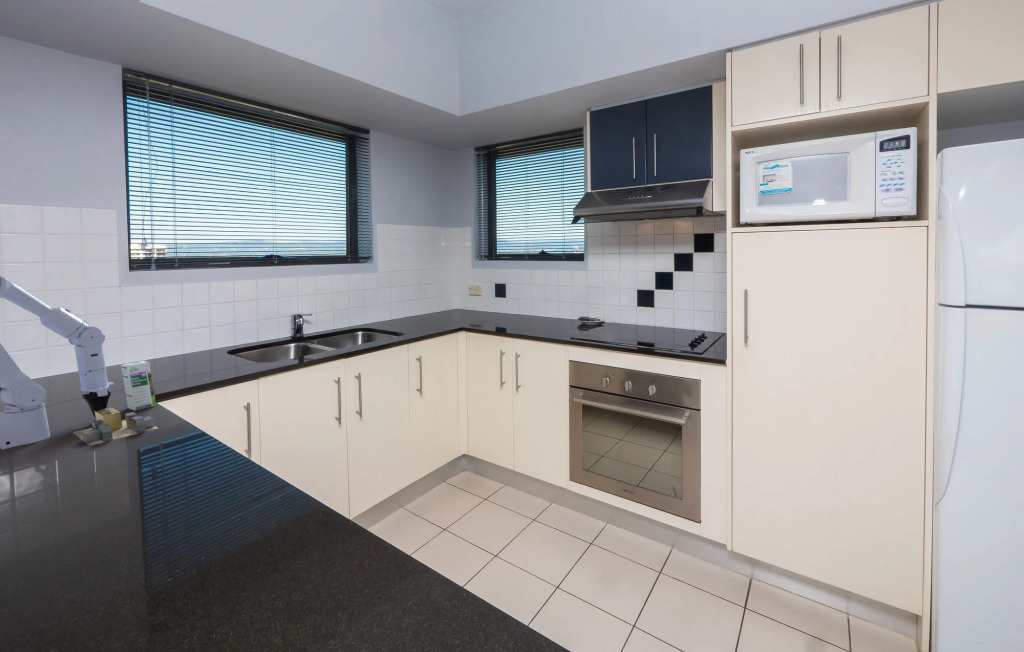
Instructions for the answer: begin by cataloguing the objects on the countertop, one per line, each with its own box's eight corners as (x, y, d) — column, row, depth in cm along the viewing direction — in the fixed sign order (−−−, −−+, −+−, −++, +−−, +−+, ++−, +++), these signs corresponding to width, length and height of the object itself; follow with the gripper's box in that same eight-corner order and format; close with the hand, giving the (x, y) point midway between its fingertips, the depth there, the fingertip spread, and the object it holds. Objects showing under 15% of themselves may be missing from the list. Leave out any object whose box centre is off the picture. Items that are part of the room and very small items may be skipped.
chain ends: (90, 445, 118) (87, 430, 117) (80, 438, 123) (78, 424, 123) (158, 428, 129) (155, 414, 128) (146, 422, 134) (144, 409, 134)
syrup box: (134, 413, 147) (126, 365, 145) (127, 410, 150) (120, 363, 148) (157, 408, 151) (149, 361, 149) (150, 405, 155) (143, 359, 153)
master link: (105, 431, 128) (102, 414, 127) (97, 426, 133) (94, 410, 132) (122, 427, 131) (119, 411, 130) (113, 422, 136) (111, 406, 135)
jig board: (90, 448, 118) (89, 445, 118) (72, 435, 129) (72, 432, 129) (158, 431, 129) (158, 428, 129) (137, 419, 140) (137, 417, 140)
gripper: (118, 369, 134) (126, 418, 136) (103, 364, 143) (111, 410, 145) (84, 375, 128) (93, 425, 130) (71, 369, 137) (79, 416, 139)
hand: (100, 418), depth 137 cm, fingers closed
